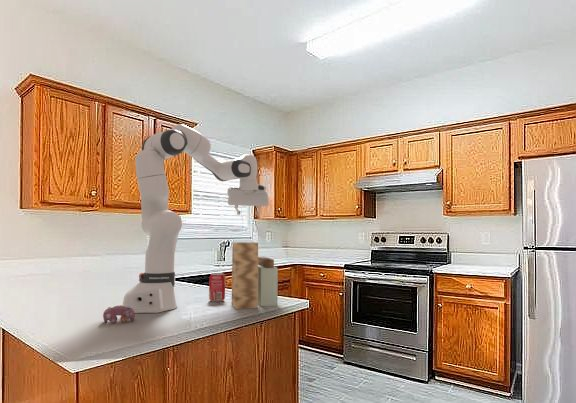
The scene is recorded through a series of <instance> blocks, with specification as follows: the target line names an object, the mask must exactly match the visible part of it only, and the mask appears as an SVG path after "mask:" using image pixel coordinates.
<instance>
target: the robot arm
mask: <svg viewBox="0 0 576 403" xmlns="http://www.w3.org/2000/svg"><path fill="white" fill-rule="evenodd" d="M211 145H212V144H211V141H210V140H209V138H207V136H205V135H204V134H203V133H201V132H199V131H197V130H196V129H194V128H192V127H189V126H187V125H185V124H182V123H179V124H176V125H174V126H173V127H172V128H170V129H167V130H165V131H160V132H157V133H154V134H152V135H150V136H148V137H147V138H145V139H144V140H143V142H142V143H141V150H140V151H138V152H137V154H136V155H135V161H134V162H135V163H134V164H135V173H136V174H135V175H136V180H137V185H138V189H139V195H140V200H141V201H140V202H141V203H140V204H141V210H140V211H141V228H142V231H143V232H144V233H145V234H146V235H147V236H149V242H148V245H147V249H146V251H145V261H144V262H145V263H144V272H140V273H139V275H138V277H139V279H138V281H139V282H138V283H137V284H135V285H134V286H133V287H132V288H131V289H129V290H128V291H127V292H126V293H125V294H124V297H123V299H122V304H121V305H119V306H125V307H128V306H130V307H131V308H132V309H133V310H134V313H135V314H143V313H144V314H145V313H147V314H151V313H154V314H155V313H162V312H165V311H172V310H175V309H177V308H178V305H177V301H176V294H175V284H176V272H175V252H176V247H177V242H178V238H179V233H180V231H181V229H182V227H183V221H182V218H181V216H180V215H179V213H176V212H175V211H172V210H170V209H169V197H170V190H169V184H168V180H167V175H166V170H165V166H164V164H165V160H167V159H171V158H173V157H176V156H179V155H180V154H182V153H184V154H187V155H188V156H189V157H192V159H193V160H194V161H195V162H197V163H198V164H199V165H201V166H202V167H204V168H205V169H206V170H208V171H209V172H211V174H213V176H214V177H215V178H216V179H217V180H218V181H219V182H228V181H231V180H237V179H238V180H239V186H230V187H228V188H227V197H228V198H227V204H228V205H229V206H234V209H235V210H236V215H237V216H239V215H240V216H241V210H239V207H240V206H245V207H246V206H249V207H251V206H252V207H257V210H256V211H255V215H256V216H259V215H260V211H261V209H262V207H267V206H268V205H269V194H268V192H267V186H265V185H261V184H259V183H258V179H257V176H258V160H257V158H256V156H254V155H252V154H242V155H241V156H240V157H237V158H234V159H229V160H223V161H221V160H217V159H216V158H214V156H211V155H210V152H211V147H212V146H211Z"/></svg>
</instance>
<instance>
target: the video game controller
mask: <svg viewBox="0 0 576 403" xmlns="http://www.w3.org/2000/svg"><path fill="white" fill-rule="evenodd" d="M118 316H120V320H119V321H120V322H121V323H122V324H123V323H127V321H128V320H130V321H131V322H133V321H135V317H136V313H134V310H133V309H132V308H131V307H130V306H128V307H125V306H120V305H115V306H113V307H111V306H108V307H107V309H105V310H104V311H103V313H102V318H103V321H104V323H107V322H108V321H109V323H110V324H116V323H117V322H118Z"/></svg>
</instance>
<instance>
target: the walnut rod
mask: <svg viewBox="0 0 576 403" xmlns="http://www.w3.org/2000/svg"><path fill="white" fill-rule="evenodd" d="M258 265H260V266H262V267H264V268H274V267H275V259H272V258H269V257H267V256H258Z"/></svg>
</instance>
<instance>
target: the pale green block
mask: <svg viewBox="0 0 576 403" xmlns="http://www.w3.org/2000/svg"><path fill="white" fill-rule="evenodd" d="M278 269H279V268H278V267H277V266H274V268H264V267H262V266H260V265H258V306H260V307H274V306H276V307H277V306H278V299H279V298H278V295H279V294H278V293H279V292H278V291H279V289H278V284H279V281H278V280H279V279H278V276H279V274H278V272H279V270H278Z"/></svg>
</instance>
